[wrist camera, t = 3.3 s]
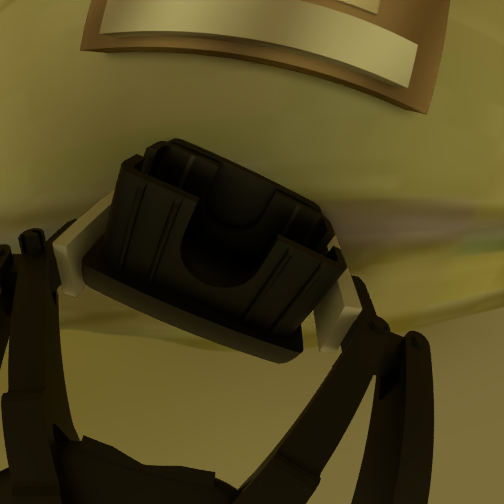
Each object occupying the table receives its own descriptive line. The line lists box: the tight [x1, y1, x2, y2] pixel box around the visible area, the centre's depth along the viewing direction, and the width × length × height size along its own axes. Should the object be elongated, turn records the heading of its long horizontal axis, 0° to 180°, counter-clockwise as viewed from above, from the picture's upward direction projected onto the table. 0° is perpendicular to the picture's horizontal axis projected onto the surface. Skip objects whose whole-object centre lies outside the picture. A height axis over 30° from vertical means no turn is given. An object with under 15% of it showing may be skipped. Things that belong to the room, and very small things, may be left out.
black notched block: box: [82, 139, 347, 364], centre depth 13 cm, size 10×7×7 cm
